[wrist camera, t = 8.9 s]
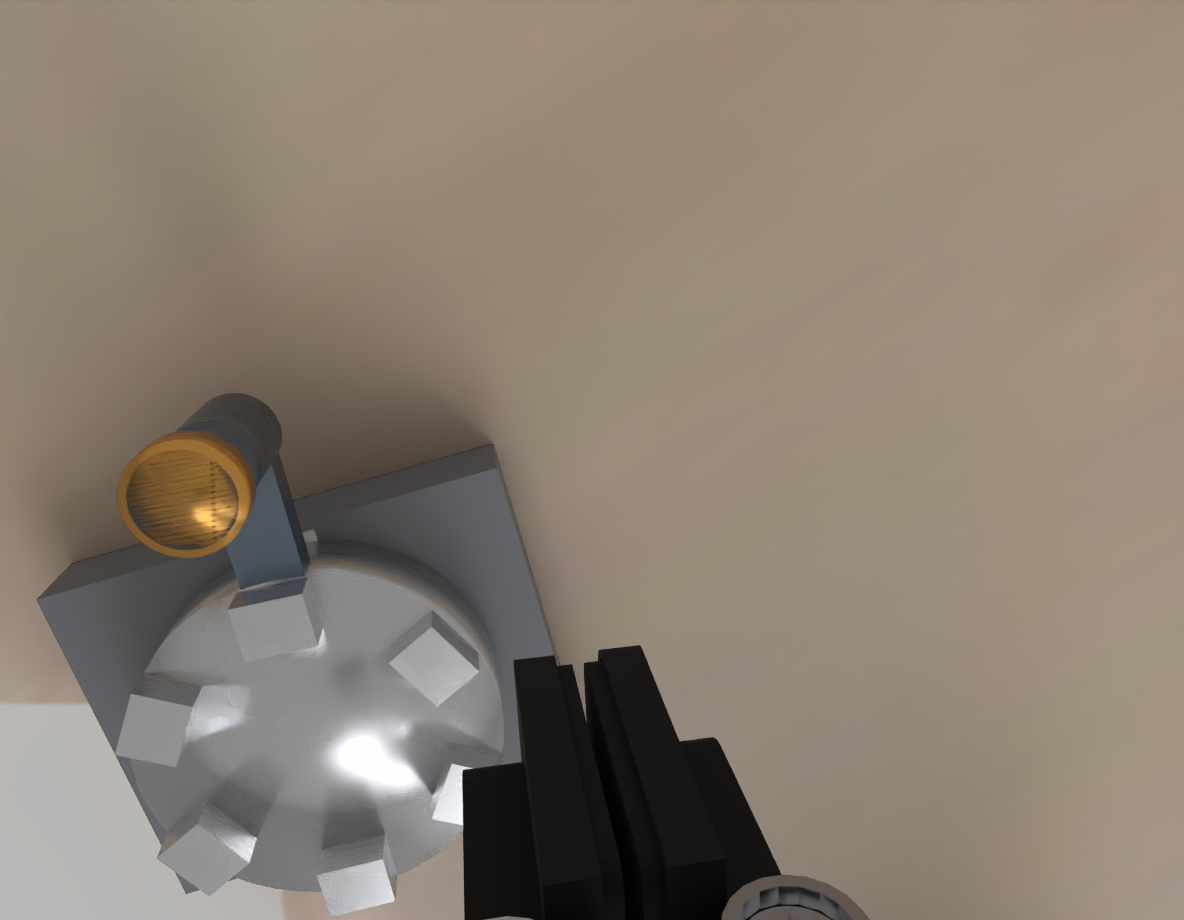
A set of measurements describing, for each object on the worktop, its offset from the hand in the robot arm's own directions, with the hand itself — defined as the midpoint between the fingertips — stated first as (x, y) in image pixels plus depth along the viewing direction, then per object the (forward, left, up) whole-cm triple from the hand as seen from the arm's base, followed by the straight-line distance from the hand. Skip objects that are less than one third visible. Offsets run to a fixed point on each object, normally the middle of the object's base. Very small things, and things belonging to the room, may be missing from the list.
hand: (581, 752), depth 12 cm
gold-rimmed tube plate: (-6, +9, -20) cm, 22 cm away
